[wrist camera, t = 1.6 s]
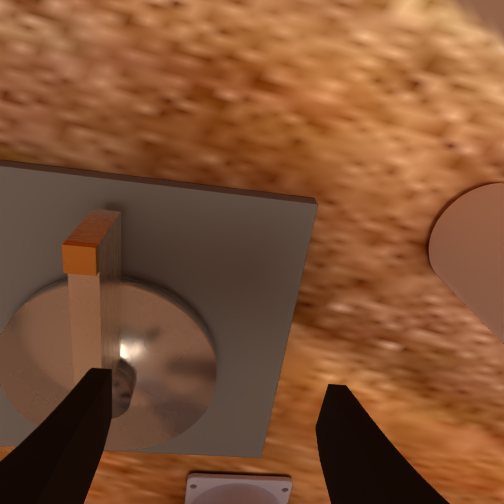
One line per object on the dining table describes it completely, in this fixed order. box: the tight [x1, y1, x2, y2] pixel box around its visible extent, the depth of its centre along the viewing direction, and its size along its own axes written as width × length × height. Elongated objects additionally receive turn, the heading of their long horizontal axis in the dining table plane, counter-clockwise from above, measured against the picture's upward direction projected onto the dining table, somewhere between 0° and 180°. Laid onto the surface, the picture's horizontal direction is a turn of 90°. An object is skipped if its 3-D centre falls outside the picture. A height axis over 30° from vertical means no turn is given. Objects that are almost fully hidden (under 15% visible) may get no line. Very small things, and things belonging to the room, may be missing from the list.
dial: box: [0, 209, 217, 451], centre depth 20 cm, size 16×12×5 cm
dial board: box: [0, 160, 318, 458], centre depth 23 cm, size 19×21×1 cm
